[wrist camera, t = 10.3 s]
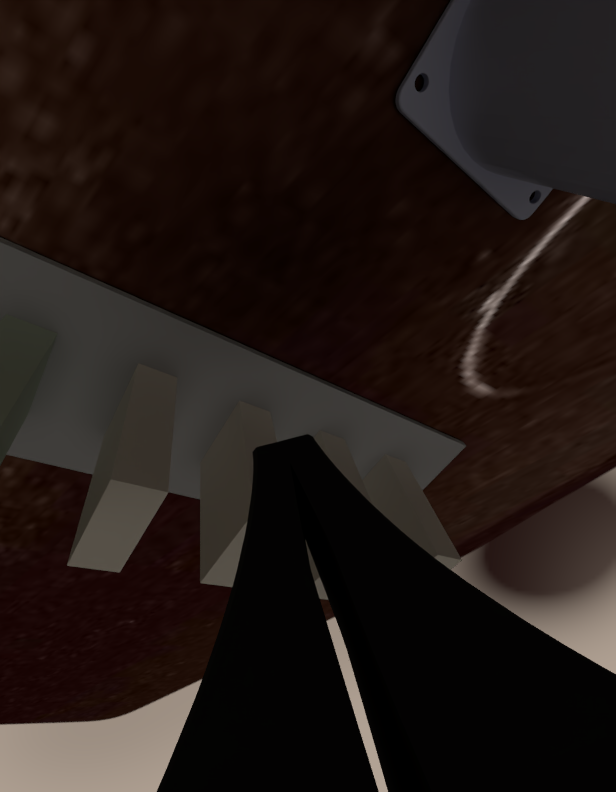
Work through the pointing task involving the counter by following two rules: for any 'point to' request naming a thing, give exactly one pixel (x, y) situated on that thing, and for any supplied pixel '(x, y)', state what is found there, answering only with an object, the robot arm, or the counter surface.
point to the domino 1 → (20, 373)
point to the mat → (178, 381)
